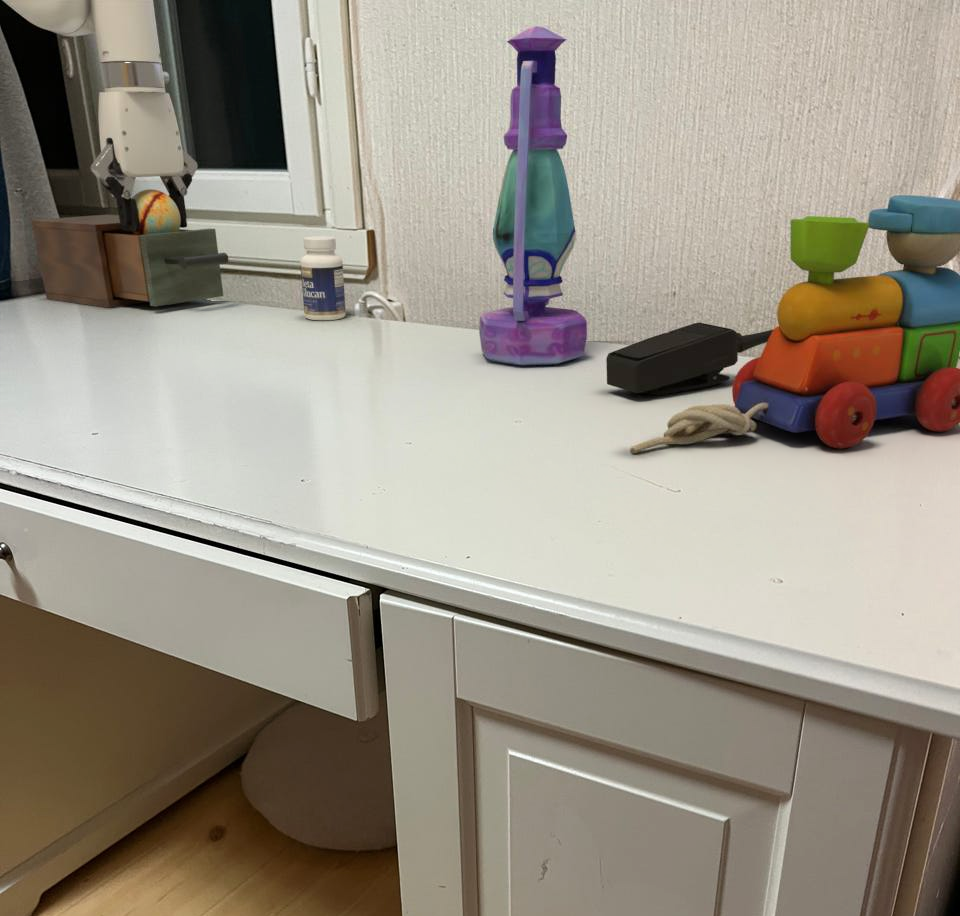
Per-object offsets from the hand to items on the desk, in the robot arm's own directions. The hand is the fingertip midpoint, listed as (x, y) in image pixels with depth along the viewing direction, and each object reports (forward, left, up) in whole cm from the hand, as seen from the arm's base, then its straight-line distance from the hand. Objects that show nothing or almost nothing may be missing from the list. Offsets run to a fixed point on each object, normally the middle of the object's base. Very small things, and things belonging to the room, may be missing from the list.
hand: (155, 227), depth 135 cm
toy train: (+98, -12, -10) cm, 99 cm away
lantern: (+64, -1, -10) cm, 65 cm away
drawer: (+1, 0, -9) cm, 9 cm away
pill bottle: (+27, +5, -10) cm, 29 cm away
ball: (0, 0, -2) cm, 2 cm away
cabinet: (-12, 0, -10) cm, 16 cm away
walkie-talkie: (+84, -2, -10) cm, 84 cm away
